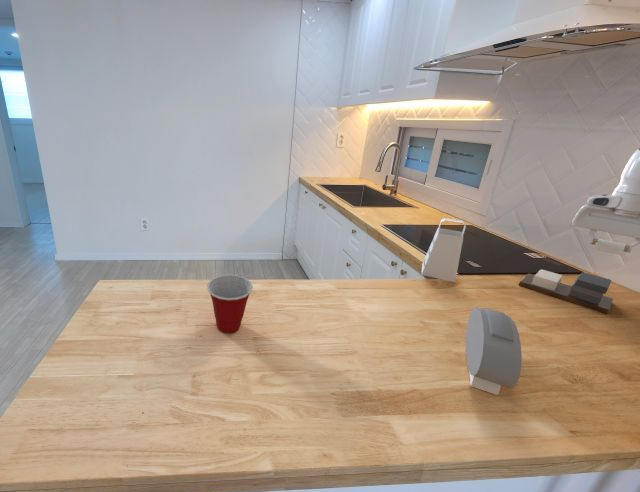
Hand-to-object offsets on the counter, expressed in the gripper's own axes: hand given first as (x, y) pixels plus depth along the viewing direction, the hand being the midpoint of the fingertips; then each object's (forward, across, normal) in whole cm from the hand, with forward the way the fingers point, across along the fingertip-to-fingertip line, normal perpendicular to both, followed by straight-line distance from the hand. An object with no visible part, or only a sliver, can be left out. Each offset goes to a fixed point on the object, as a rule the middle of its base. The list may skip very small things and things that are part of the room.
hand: (608, 247), depth 102 cm
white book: (0, 0, 0) cm, 0 cm away
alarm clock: (+18, +10, +67) cm, 70 cm away
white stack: (+17, +10, 0) cm, 19 cm away
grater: (+18, +37, +21) cm, 46 cm away
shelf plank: (+18, +5, 0) cm, 19 cm away
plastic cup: (+18, +54, +104) cm, 119 cm away
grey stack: (+17, 0, 0) cm, 17 cm away
